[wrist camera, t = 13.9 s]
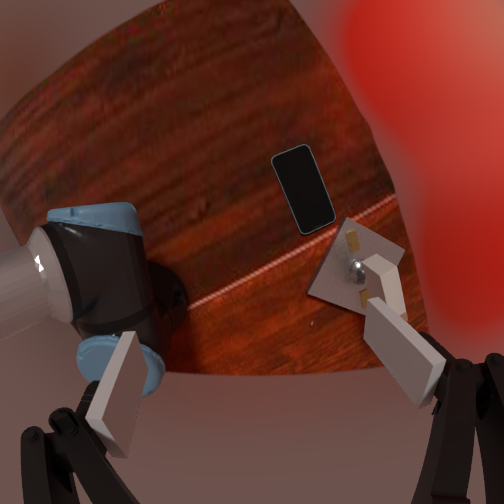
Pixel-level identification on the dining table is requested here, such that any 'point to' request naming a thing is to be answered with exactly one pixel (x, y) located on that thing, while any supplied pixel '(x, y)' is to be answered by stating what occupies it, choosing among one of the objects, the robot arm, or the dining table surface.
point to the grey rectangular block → (384, 283)
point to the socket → (350, 265)
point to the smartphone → (303, 188)
